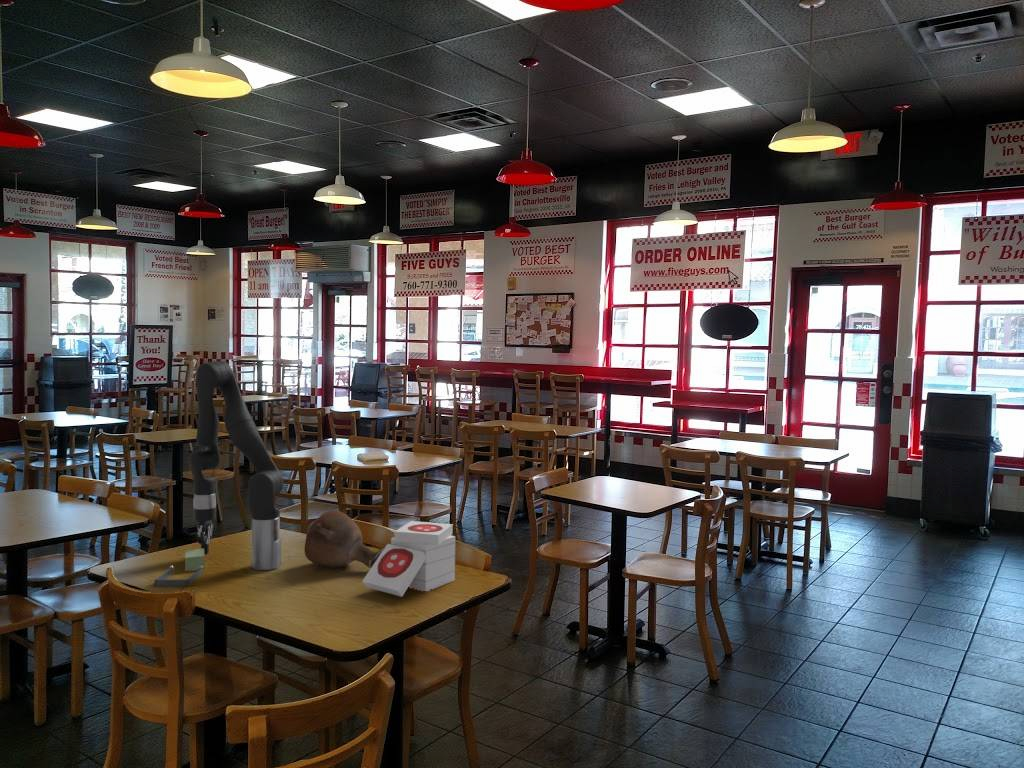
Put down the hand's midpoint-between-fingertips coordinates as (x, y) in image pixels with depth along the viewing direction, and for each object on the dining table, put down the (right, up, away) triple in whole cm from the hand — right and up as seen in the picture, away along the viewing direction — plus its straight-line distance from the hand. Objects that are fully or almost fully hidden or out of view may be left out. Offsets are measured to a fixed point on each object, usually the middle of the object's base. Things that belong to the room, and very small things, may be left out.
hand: (205, 554), depth 275 cm
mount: (+1, -3, -24) cm, 24 cm away
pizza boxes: (+78, -5, -27) cm, 82 cm away
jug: (+52, -3, -8) cm, 52 cm away
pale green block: (+1, -2, -10) cm, 10 cm away
